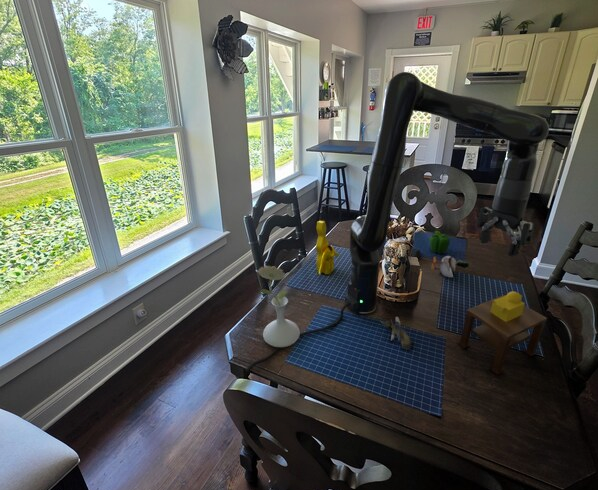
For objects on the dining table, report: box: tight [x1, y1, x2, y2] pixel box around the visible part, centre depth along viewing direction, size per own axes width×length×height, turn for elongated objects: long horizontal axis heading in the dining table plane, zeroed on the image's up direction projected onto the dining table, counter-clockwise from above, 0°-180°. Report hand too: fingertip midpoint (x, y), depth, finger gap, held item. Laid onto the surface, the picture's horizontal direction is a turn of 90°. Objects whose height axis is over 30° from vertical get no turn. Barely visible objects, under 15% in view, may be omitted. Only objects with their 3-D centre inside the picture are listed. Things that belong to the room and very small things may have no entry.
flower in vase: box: [257, 265, 301, 349], centre depth 96 cm, size 13×11×25 cm
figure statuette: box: [315, 220, 340, 275], centre depth 132 cm, size 18×8×22 cm, turn 148°
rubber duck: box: [490, 291, 526, 322], centre depth 87 cm, size 8×5×6 cm, turn 115°
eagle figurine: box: [380, 316, 413, 350], centre depth 97 cm, size 8×7×9 cm
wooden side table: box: [458, 294, 548, 375], centre depth 91 cm, size 16×12×13 cm
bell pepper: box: [429, 230, 451, 254], centre depth 147 cm, size 8×8×10 cm
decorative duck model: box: [430, 255, 470, 279], centre depth 129 cm, size 15×8×15 cm
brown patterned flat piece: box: [377, 240, 422, 260], centre depth 147 cm, size 15×22×5 cm
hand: (497, 248), depth 91 cm, fingers open, 8 cm apart
